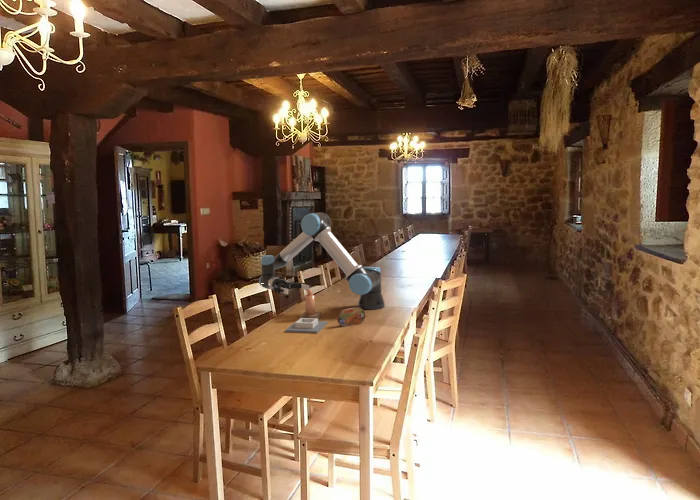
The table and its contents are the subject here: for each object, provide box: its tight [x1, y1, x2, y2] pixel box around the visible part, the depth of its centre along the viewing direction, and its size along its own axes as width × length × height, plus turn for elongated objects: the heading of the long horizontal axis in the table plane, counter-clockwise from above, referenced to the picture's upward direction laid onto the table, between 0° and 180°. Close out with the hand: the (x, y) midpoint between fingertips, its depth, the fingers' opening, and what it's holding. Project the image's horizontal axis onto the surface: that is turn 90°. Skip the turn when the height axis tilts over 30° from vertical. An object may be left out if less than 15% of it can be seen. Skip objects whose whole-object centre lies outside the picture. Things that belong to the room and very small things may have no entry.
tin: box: [336, 307, 366, 328], centre depth 253 cm, size 15×3×8 cm, turn 117°
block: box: [299, 311, 322, 320], centre depth 267 cm, size 9×9×2 cm
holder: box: [284, 317, 328, 334], centre depth 250 cm, size 16×18×4 cm
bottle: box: [304, 288, 316, 315], centre depth 266 cm, size 5×5×13 cm
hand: (298, 289), depth 273 cm, fingers open, 13 cm apart
